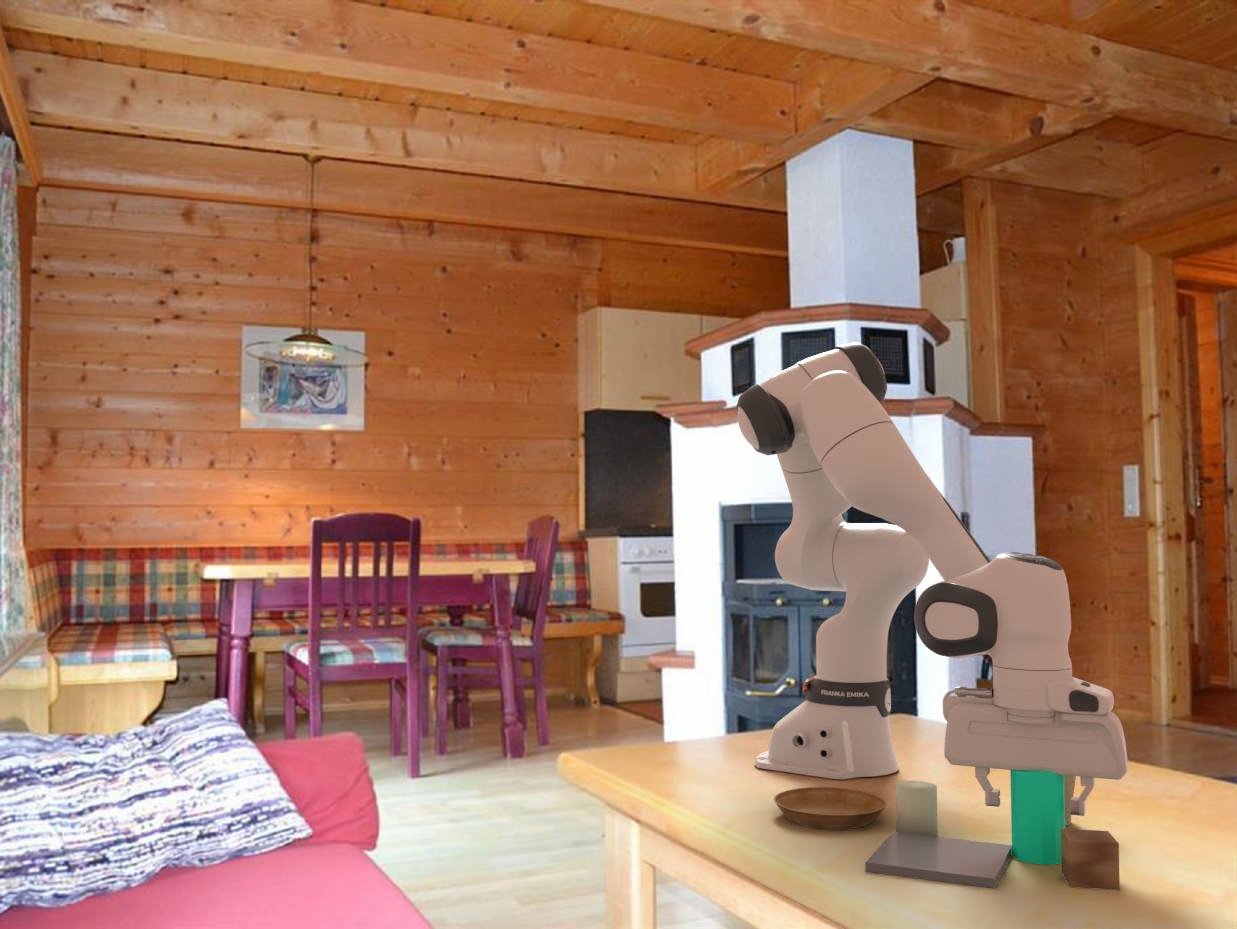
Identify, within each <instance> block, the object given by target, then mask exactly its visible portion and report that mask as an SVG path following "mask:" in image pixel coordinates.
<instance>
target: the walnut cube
mask: <svg viewBox="0 0 1237 929" xmlns="http://www.w3.org/2000/svg"><path fill="white" fill-rule="evenodd" d="M1119 846H1120V844H1119V842H1118V841H1117V840H1116V839H1115V838H1114V836H1113V835H1112V834H1111V833H1110V831H1108V830H1095V829H1075V828H1073V829H1072V828H1065V829H1061V863H1060V865H1061V875H1062V876H1063V878H1064V879H1065V881H1066V883H1067V885H1068V886H1069V888H1073V889H1074V888H1075V889H1089V890H1090V889H1093V890H1094V889H1095V890H1110V891H1120V889H1121V888H1120V887H1121V886H1120V885H1121V884H1120V879H1121V878H1120V849H1119Z"/></svg>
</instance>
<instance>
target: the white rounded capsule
mask: <svg viewBox="0 0 1237 929" xmlns="http://www.w3.org/2000/svg"><path fill="white" fill-rule="evenodd" d="M895 796H896V797H895V799H896V802H895V803H896V832H901V833H910V834H918V835H927V836H936V837H938V833H939V831H938V826H939V825H938V786H937V784H936V783H935V784H934V783H932V782H928V781H921V780H903V781H902V780H901V781H898V782H896V784H895Z"/></svg>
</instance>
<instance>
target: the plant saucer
mask: <svg viewBox="0 0 1237 929" xmlns="http://www.w3.org/2000/svg"><path fill="white" fill-rule="evenodd" d="M773 801H774V803H775V805H776V806H777V807H778V809H779V810H780V811H781V813H783V814H784V815H785V816H786V817H787V818H788V819H789V820H790V821H791V822H793V823H795V824H798V825H801V826H805V827H808V828H809V827H811V828H815V829H824V830H825V829H827V830H846V829H855V828H860V827H864V826H868V825H869V824H870V823H872V822H873V821H874V820H876V819H877V817H878V816H879V815H881V813H882V811H884V810H885V807H886V806H887V802H886V800H885V799H884V798H883V797H881V796H879V795H876V794H874V793H871V792H867V791H863V790H858V789H852V788H845V787H844V788H843V787H832V786H807V787H800V788H794V789H793V788H792V789H788V790H784V791H782V792H779V793H778V794H776V795H774V797H773Z"/></svg>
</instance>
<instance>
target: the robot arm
mask: <svg viewBox="0 0 1237 929" xmlns="http://www.w3.org/2000/svg"><path fill="white" fill-rule="evenodd" d="M887 391H888V382H887V378H886V374H885V371H884V368H883V365H882V364H881V362H880V361H879V358H878V357H877V356H876V355H875V354H874V351H872V350H871V348H869V347H868V346H867V345H864V344H862V343H860V342H850V343H849V342H848V343H845V344H840V345H837V346H835V347H834V349H832V350H828V351H825V352H822V353H819V354H816V355H813V356H810V357H807V358H805V359H803V360H801V361H798V362H795V363H794V365H792V366H790V367H788V368H786V369H784V370H781V371H780V372H779V373H776V374H775V375H773V376H771V377H769V378H768V379H766V380H765V381H763V382H761V383H760V384H758V383H756V384H754V385H752V386H751V387H749V388H748V389H747V390H745V391H744V392H743V393H742V394H741V395H739V397H738V399H737V404H736V412H737V423H738V426H739V430H740V433H741V434H742V436H743V438H744V439H745V440H746V442H748V444H750V445H751V446H752V447H753V449H754V450H755V451H756V452H757V453H760V454H762V455H765V456H774V455H776V456H777V459H778V463H779V465H780V468H781V471H782V473H783V477H784V481H785V484H786V486H787V489H788V493H789V497H790V500H791V503H792V520H791V523H790V525H789V527H788V528H787V529H786V530H785V531H784V532H783V533H782V534H781V535H780V537H779V539H778V541H777V542H776V545H775V546H776V547H775V551H774V561H775V565H776V569H777V571H778V573H779V575H780V577H781V578H782V580H783V581H784V582H785V583H787V584H788V585H792V586H795V587H799V588H803V589H807V590H809V591H810V590H812V591H823V592H824V591H826V592H828V591H829V592H845V600H844V604H843V607H842V608H841V610H840V612H839V613H837V614H834V615H832V616H831V617H829V618H826V620H825V621H823V622H822V623H821V625H820V627H819V628H818V629H817V632H816V636H815V653H816V654H815V655H816V656H815V659H816V661H815V662H816V666H815V667H816V675H814V676H812V677H810V678H809V679H808V681H805V682H804V684H803V685H802V687H803V689H802V692H804V697H805V699H806V700H804V701H803V702H802V703H800V704H799V705H798V706H796V707H795V708H794V709H792V710H791V711H790V712H789V713H787V714H786V715H785V716H783V717H782V718H781V719H780V720H779V721H777V722H776V724H775V725H774V726H773V728H772V731H771V735H770V739H769V745H768V746H769V747H768V750H766V751H763V752H761V753H759V754H758V755H757V756H756V758H755V762H754V763H755V764H754V765H755V766H756V768H759V769H764V770H770V771H771V770H772V771H778V772H785V773H790V774H791V773H792V774H797V775H805V776H812V777H818V778H825V779H832V780H847V779H855V778H864V777H865V778H866V777H870V778H871V777H879V776H886V775H891V774H894V773H896V772H898V771H899V770H900V767H899V764H898V762H897V758H896V754H895V750H894V746H893V740H892V735H891V725H890V717H889V716H890V713H891V710H892V709H891V708H892V706H891V705H892V698H891V696H892V695H891V694H892V693H891V686H890V680H889V679H888V678H887V672H888V671H887V669H888V668H887V665H888V664H887V661H888V660H887V658H888V656H887V654H888V637H889V629H890V626H891V622H892V620H893V617H894V614H895V612H896V610H897V608H898V606H899V605H900V604H901V603H902V601H903V600H904V598H906V596H908V595H909V594H910V592H912V591H914V590H915V589H916V588H917V587H918V586H920V585H921V583H922V581H923V579H925V576H926V574H927V572H928V569H929V563H930V562H931V564H932V565H933V567H935V569H936V571H937V572H938V573H939V574H940V576H941V578H942V579H943V580H941V581H939V582H936V583H934V584H931V585H930V586H929V587H927V588H926V589H924V591H922V593H921V594H920V595H919V597H918V598H917V601H916V604H915V607H914V610H913V611H914V615H913V620H914V626H915V630H916V633H917V636H918V637H919V639H920V641H921V642H922V643H923V645H924V646H925V647H926V648H927V649H929V651H931V652H932V653H934V654H936V655H937V656H942V657H947V658H951V659H963V658H964V659H965V658H968V657H971V658H972V657H973V658H974V657H979V656H984V655H989V656H990V658H991V660H992V688H990V687H973V688H972V687H966V686H955V688H954V689H951V690H949V691H948V692H945V695H944V696H943V699H942V714H943V715H942V716H943V717H944V719H945V721H946V727H945V734H944V735H945V737H944V749H943V750H944V758H945V759H946V760H947V762H948V763H949V764H950V765H951V766H952V765H953V766H961V767H962V766H963V767H973V768H974V777H975V778H976V780H977V782H978V783H979V785H980V787H981V789H982V791H984V796H985V797H984V799H985V801H984V802H985V806H986V807H994V808H995V807H996V808H999V807H1000V806H1001V799H1000V797H1001V789H997V788H993V786H992V784H991V782H990V781H989V779H988V776H989V775H990V772H991V769H995V770H1005V771H1007V770H1008V771H1010V770H1016V771H1027V772H1029V771H1040V770H1041V771H1050V772H1055V774H1059V775H1070V776H1076V777H1079V778H1080V781H1079V782H1080V786H1081V787H1084V788H1083V790H1082V792H1081V793H1080V795H1079V796H1078V797H1077V796H1073V797H1071V799H1070V806H1071V810H1070V812H1071V816H1080V817H1085V815H1086V801H1087V799H1088V797H1089V795H1090V794H1091V792H1092V791H1093V789H1094V787H1095V784H1096V779H1103V780H1104V779H1106V780H1116V781H1119V780H1121V779H1122V778H1124V777H1125V775H1126V774H1127V773H1128V768H1129V766H1128V753H1127V743H1126V738H1125V734H1124V733H1125V732H1124V729H1123V724H1122V722H1121V720H1120V718H1119V717H1118V715H1116V713H1114V712H1113V711H1112V710H1113V709H1114V705H1115V698H1114V697H1115V696H1114V694H1113V692H1112V691H1111V690H1110V689H1108V688H1105V687H1103V686H1100V685H1097V684H1093V683H1090V682H1088V681H1087V680H1082V679H1081V678H1080V679H1079V678H1077V677H1074V676H1073V664H1072V659H1071V658H1070V657H1071V656H1070V654H1069V653H1070V652H1069V639H1070V636H1071V631H1072V617H1071V616H1072V614H1071V602H1070V592H1069V585H1068V581H1067V576H1066V573H1065V571H1064V568H1063V567H1062V565H1060V564H1059V563H1058V562H1057V561H1055V560H1053V559H1051V558H1048V557H1046V556H1041V555H1037V554H1031V553H1021V552H1018V551H1017V552H1016V551H1011V552H1010V551H1008V552H1002V553H999V554H997V555H995V557H994V558H993V559H992V560H991V559H990V558H989V556H987V554H986V552H985V551H984V550H983V548H982V547H981V546H980V544H979V543H978V541H977V540H976V539H975V538H974V536H973V535H972V533H971V532H970V531H969V529H968V528H967V526H966V525H965V524H964V523H963V521H962V520H961V518H960V516H958V514H957V513H956V511H955V509H954V508H953V507H952V505H951V504H950V503H949V502H948V501H947V499H946V498H945V497H944V495H943V494H942V493H941V492H940V490H939V489H938V488H937V486H936V485H935V484H934V482H933V481H932V480H931V478H930V477H929V476H928V474H927V473H926V471H925V470H924V468H923V467H922V466H921V464H920V462H919V461H918V459H917V458H916V456H915V454H914V453H913V452H912V450H911V448H910V446H909V445H908V444H907V442H906V440H905V439H904V437H903V436H902V433H901V432H900V430H898V427H897V426H896V424H895V423H894V420H892V418H891V417H890V415H889V414H888V412H887V410H886V409H885V408H884V407H883V405H882V404H881V403H883V402H884V400H885V397H886V394H887ZM852 507H853V508H854V509H857V510H858V511H861V512H863V513H866V514H869V515H872V516H874V517H877V518H880V519H882V520H884V521H887V522H888V523H880V522H879V523H876V522H875V523H874V522H873V523H868V522H866V523H861V522H859V523H854V522H853V523H851V522H847V521H846V520H844V517H843V514H844V513H845V512H846V511H848V510H849V509H850V508H852ZM952 694H953V695H952Z"/></svg>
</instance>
